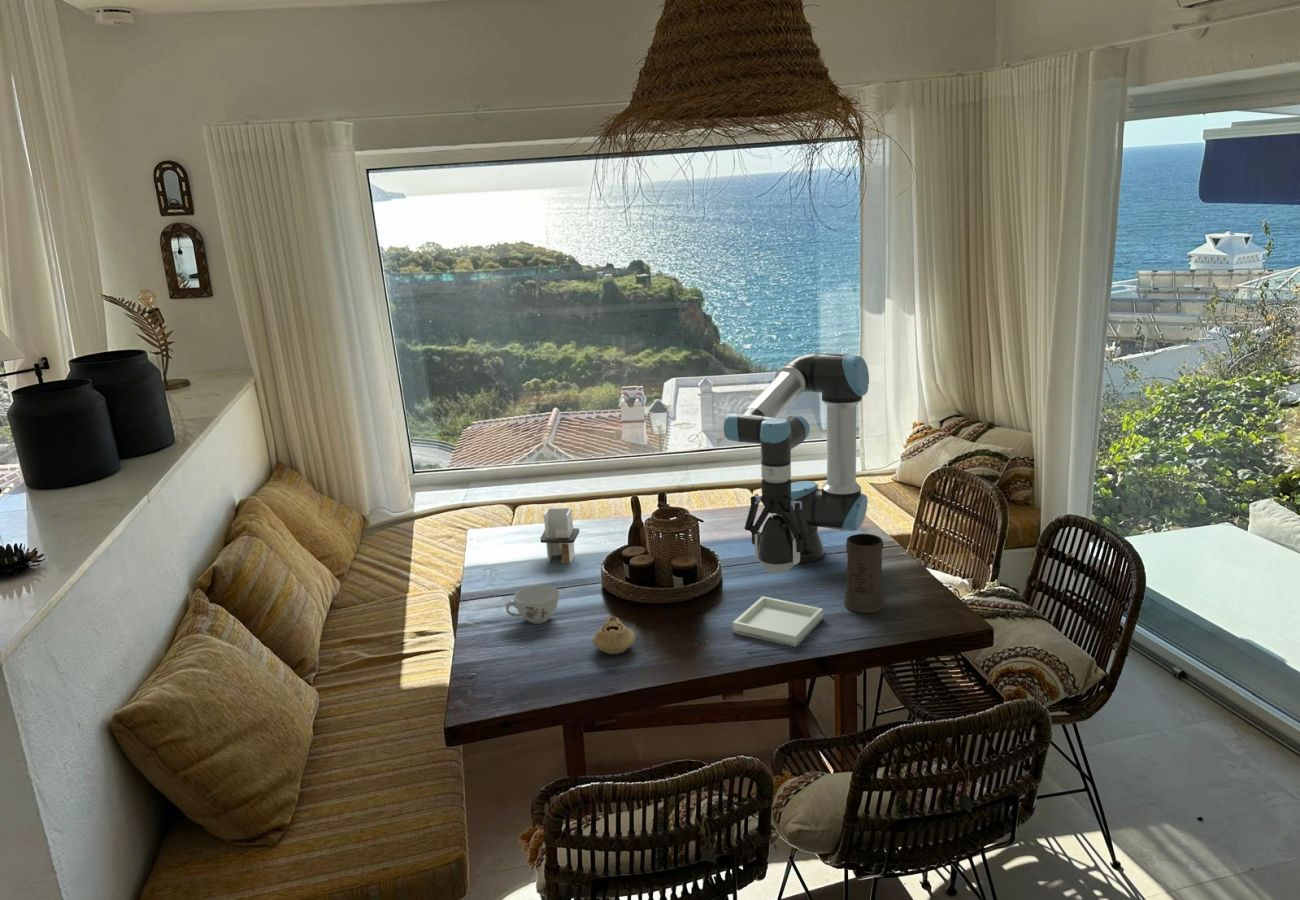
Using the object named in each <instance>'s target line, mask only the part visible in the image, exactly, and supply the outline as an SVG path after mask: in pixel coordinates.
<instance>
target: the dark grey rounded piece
mask: <svg viewBox="0 0 1300 900" xmlns="http://www.w3.org/2000/svg"><path fill="white" fill-rule="evenodd" d="M764 522H765V523H763V527H762V529H761V532H762V533H761V536H760V541H759V546H758V558H757V559H758V561H759V562H760V564H761V567H762V568H763V569H764V570H766V571H767V572H769V573H773V574H783V573H786V572H788V571H790V570H791V569H792V568H793V566H794V565H793V540H795V539H794V536H793V534H792V532H791V530H790V528H789V526H788V524H787V523H786V521H785V519H784V518H783V517H782V516H781V515H778V514H775V513H774V514H772V515H770V516H769V517H768V518H766V520H765V521H764Z"/></svg>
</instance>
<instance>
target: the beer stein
mask: <svg viewBox="0 0 1300 900" xmlns="http://www.w3.org/2000/svg"><path fill="white" fill-rule="evenodd" d="M845 548H846V555H847V556H846V557H847V562H846V589H845V591H844V596H845V598H844V601H843V604H844V607H845V608H846V609H848V610H849V611H852V612H854V613H859V614H872V613H876V612H877V613H878V612H879V611H881V610H883V608H884V606H885V602H884V599H883V597H884V591H883V575H882V574H883V570H882V569H883V568H882V567H883V561H882V560H883V559H882V558H883V549H884V541H883V539H882V538H881V537H880V536H878V535H875V534H870V533H858V534H853V535H850V536H848V537H847V539H846V542H845Z"/></svg>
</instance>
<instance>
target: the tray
mask: <svg viewBox="0 0 1300 900" xmlns="http://www.w3.org/2000/svg"><path fill="white" fill-rule="evenodd" d="M823 619H824V608H822V607H817V606H812V605H807V604H803V603H797V602H792V601H787V600H784V599H778V598H773V597H769V596H764V595H762V596H760V598H758V600H756V601H755V602H754V603H753V604H752V605H751V606H750V607H748V608H747V609H746V610H745V611H744V612H743V613H742V614H741V615H740V616H738V617H737V618H736V619H735V620H733V621H732V633H733V634H737V635H741V636H745V637H750V638H753V639H754V638H755V639H758V640H759V639H760V640H762V639H763V641H767V642H772V643H775V642H776V644H779V643H780V645H784V644H786V645H785V646H788V645H790V646H789V647H792V646H794V648H797V647H798V646H799V645H800V644H801V643H802V642H803V640H804V639H806V637H807V636H808V635H809V634H810V633H811V632H812V631H813V630H814V629H815V628H816V627H817V626H818V625H819V623H820V622H822V621H823ZM796 646H797V647H796Z"/></svg>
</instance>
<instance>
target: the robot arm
mask: <svg viewBox="0 0 1300 900" xmlns="http://www.w3.org/2000/svg"><path fill="white" fill-rule="evenodd" d="M869 385H870V374H869V367H868V365H867V362H866V361H865V359H864V358H863V357H862V356H860V355H857V354H849V353H824V352H823V353H822V352H821V353H820V352H810V353H806V354H802V355H800V356H797V357H794V358H793V359H791V360H790V361H788V362H786V363H785V364H784V365H782V366H781V367H780V368H779V369H778V370H777V371H776V372H775V376H774V379H773V380H772V381H771V382H770V384H768V385H767V386H766V388H765V389H764V390H762V392H761V393H760V394H759V395H758V396H757V397H756V398H755V399H754V400H753V401H752V402H751V403H750V404H749V405H748V406H747V407H746V408H745V409H744V410H743V411H742V413H739V412H736V413H728V414H727V415H726V417H725V419H724V422H723V435H724V437H725V438H726V440H728V441H732V442H737V443H747V444H759V445H760V458H761V459H760V465H761V466H760V471H761V473H760V474H761V475H760V476H761V478H762V479H761V481H760V482H761V483H760V484H761V495H759V494H757V493H755V494H754V495H752V496H751V497H750V506H749V510H748V514H747V519H746V521H745V525H744V530H745V531H748V532H750V533H751V544H752V545H753V546H754V557H755V558H756V559H758V546H759V541H760V536H761V533H762V530H761V531H760V529H761V527H762V525H764V522H766V520H767V517H768V515H769V514H772V515H775V514H778V515H781V516H782V517H783V518H784V519H785V521H786V523H787V524H788V526H789V528H790V530H791V532H792V534H793V536H794V539H795V540H793V566H796V565H798V564H799V563H800V564H801V563H811V562H815V561H817V560H820V559H821V558H823V557H824V545H823V542H822V540H821V536H820V533H819V531H818V529H819V528H825V529H830V530H838V531H842V532H844V531H846V532H847V531H848V532H857V531H858V530H859V529H860V527H861V526H862V525H863V522H864V520H865V518H866V514H867V511H868V504H869V501H868V496H867V495H866V494H864V493H862V487H861V484H859V483H858V482H857V406H858V405H859V404H860V403H861V401H862V399H863V396H865V395H866V394H867V393H868V391H869ZM806 392H807V393H808V392H809V393H820V394H821V401H822V402H823V403H824V404H825V405H826V482H825V483H823V484H822V485H821V488H819V484H818V483H817V482H815V481H814V480H813V481H811V480H801V481H794V482H792V479H791V478H792V466H791V465H792V464H791V463H792V462H791V461H792V452H791V451H792V450H793V449H794V448H796V447H797V446H800V445H801V444H802V443H804V441H805V440H806V439H807V438H809V435H810V430H811V428H810V424H809V422H808V420H807V419H806V418H805V417H804V416H802V415H799V414H793V415H789V416H787V417H779V416H778V415H779V414H780V413H781V411H783V409H784V408H785V407H786V406H787V405H788V404H789V403H790V402H791V401H792V399H794V398H795V397H799V396H801V394H802V393H806ZM761 503H762V505H763V507H764V508H763V509H762V511H761V513H760V515H759V517H758V518H757V520H755V519H756V517H757V512H758V509H759V505H760V504H761ZM755 521H756V522H755Z"/></svg>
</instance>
